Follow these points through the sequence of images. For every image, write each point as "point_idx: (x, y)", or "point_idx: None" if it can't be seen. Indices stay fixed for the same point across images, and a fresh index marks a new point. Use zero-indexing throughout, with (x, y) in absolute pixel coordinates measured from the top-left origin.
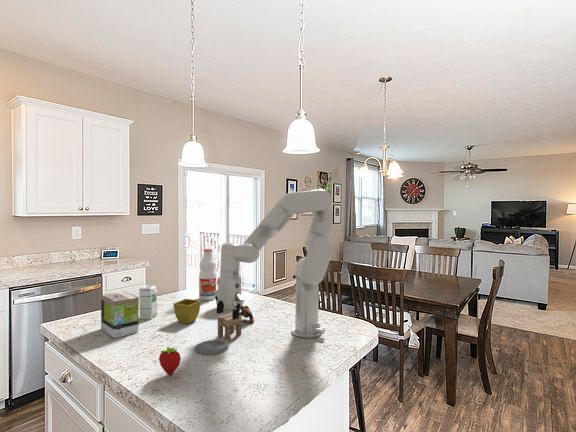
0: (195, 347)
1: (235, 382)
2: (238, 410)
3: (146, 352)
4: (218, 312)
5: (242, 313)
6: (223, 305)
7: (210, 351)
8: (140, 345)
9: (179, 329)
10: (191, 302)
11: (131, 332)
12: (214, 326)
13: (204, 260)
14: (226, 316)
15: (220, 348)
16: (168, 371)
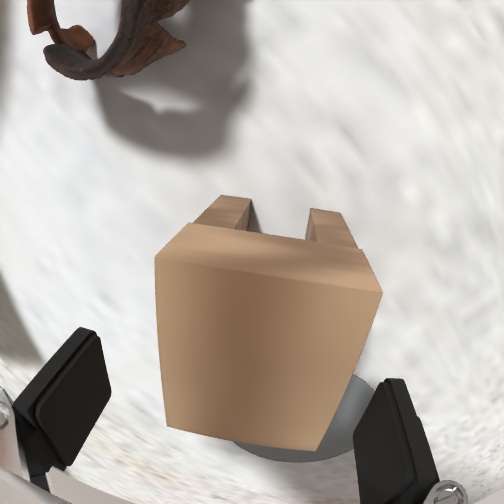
0: (243, 446)
1: (478, 465)
2: (495, 483)
3: (148, 476)
4: (106, 399)
5: (151, 1)
6: (54, 396)
7: (328, 445)
8: (92, 451)
9: (18, 325)
10: None
11: (7, 403)
12: (62, 197)
13: None
14: (226, 398)
15: (351, 418)
16: None
